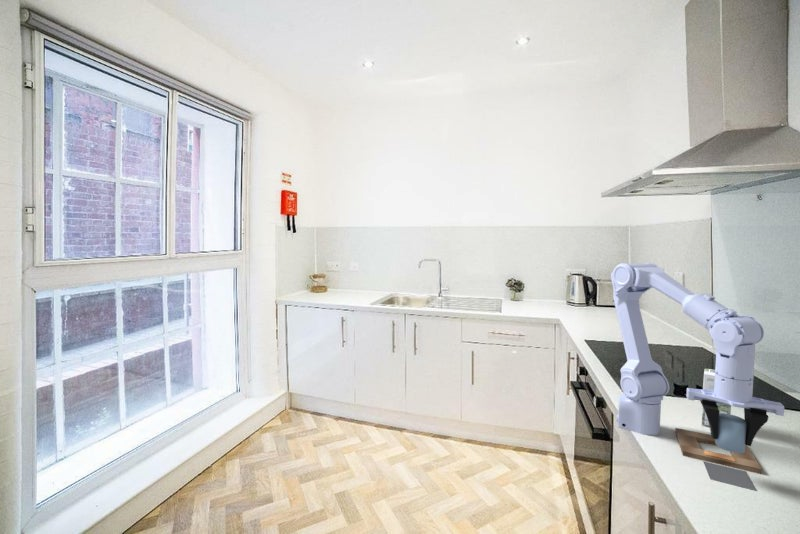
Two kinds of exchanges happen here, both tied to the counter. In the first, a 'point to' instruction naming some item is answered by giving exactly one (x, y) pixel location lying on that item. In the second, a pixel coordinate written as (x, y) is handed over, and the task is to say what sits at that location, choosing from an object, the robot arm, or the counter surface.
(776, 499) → the counter surface
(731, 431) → the peg
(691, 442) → the socket plate
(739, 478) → the mat
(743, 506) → the counter surface
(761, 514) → the counter surface
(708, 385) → the syrup box
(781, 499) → the counter surface
